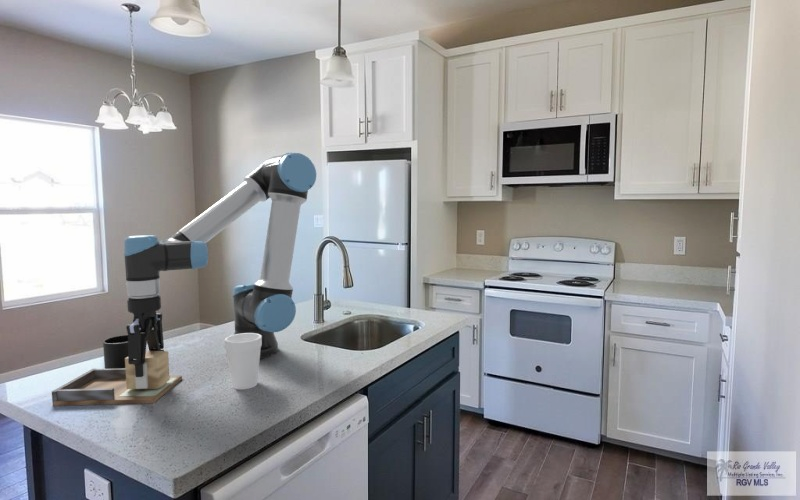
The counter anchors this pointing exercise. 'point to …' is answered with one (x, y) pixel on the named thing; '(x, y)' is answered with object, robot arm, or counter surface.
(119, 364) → the mug
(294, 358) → the counter surface
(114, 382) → the slot board
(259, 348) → the foam cup
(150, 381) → the oak block
